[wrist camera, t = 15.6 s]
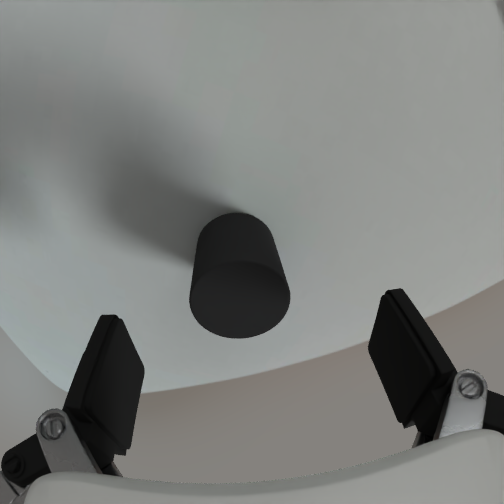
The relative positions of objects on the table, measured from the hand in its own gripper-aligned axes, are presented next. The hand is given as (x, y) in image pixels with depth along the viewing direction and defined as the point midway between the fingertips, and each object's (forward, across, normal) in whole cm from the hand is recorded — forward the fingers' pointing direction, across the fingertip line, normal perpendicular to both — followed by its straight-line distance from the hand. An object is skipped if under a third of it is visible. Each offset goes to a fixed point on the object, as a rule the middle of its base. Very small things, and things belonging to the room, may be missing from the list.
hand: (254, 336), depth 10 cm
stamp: (+6, 0, 0) cm, 6 cm away
